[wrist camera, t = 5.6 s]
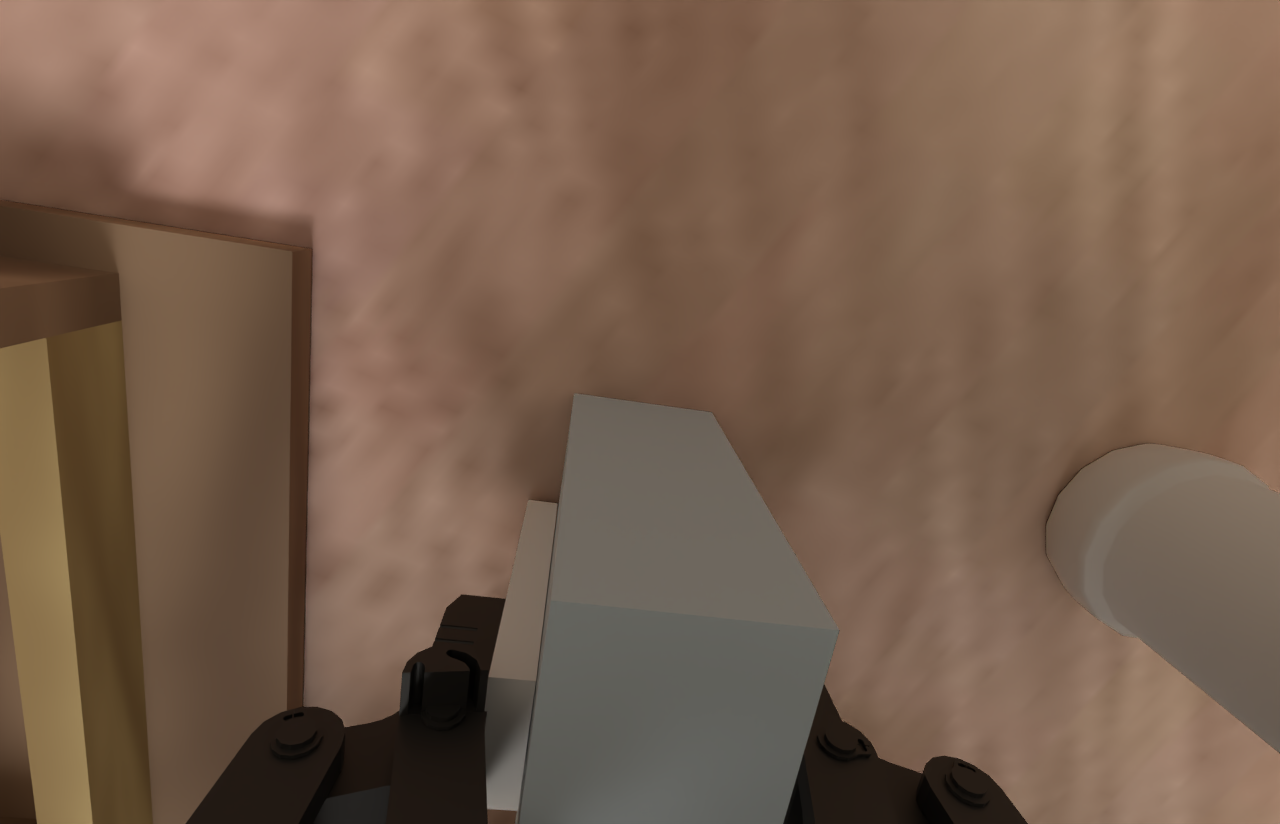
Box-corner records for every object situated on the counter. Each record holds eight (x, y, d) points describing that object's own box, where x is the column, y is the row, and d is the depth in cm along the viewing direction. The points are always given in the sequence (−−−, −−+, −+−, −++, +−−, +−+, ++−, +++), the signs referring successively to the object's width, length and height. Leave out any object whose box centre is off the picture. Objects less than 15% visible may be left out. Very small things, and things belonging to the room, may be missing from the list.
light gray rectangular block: (711, 412, 16) (839, 630, 8) (652, 703, 19) (699, 1108, 10) (574, 393, 16) (550, 600, 7) (532, 692, 19) (478, 1105, 10)
